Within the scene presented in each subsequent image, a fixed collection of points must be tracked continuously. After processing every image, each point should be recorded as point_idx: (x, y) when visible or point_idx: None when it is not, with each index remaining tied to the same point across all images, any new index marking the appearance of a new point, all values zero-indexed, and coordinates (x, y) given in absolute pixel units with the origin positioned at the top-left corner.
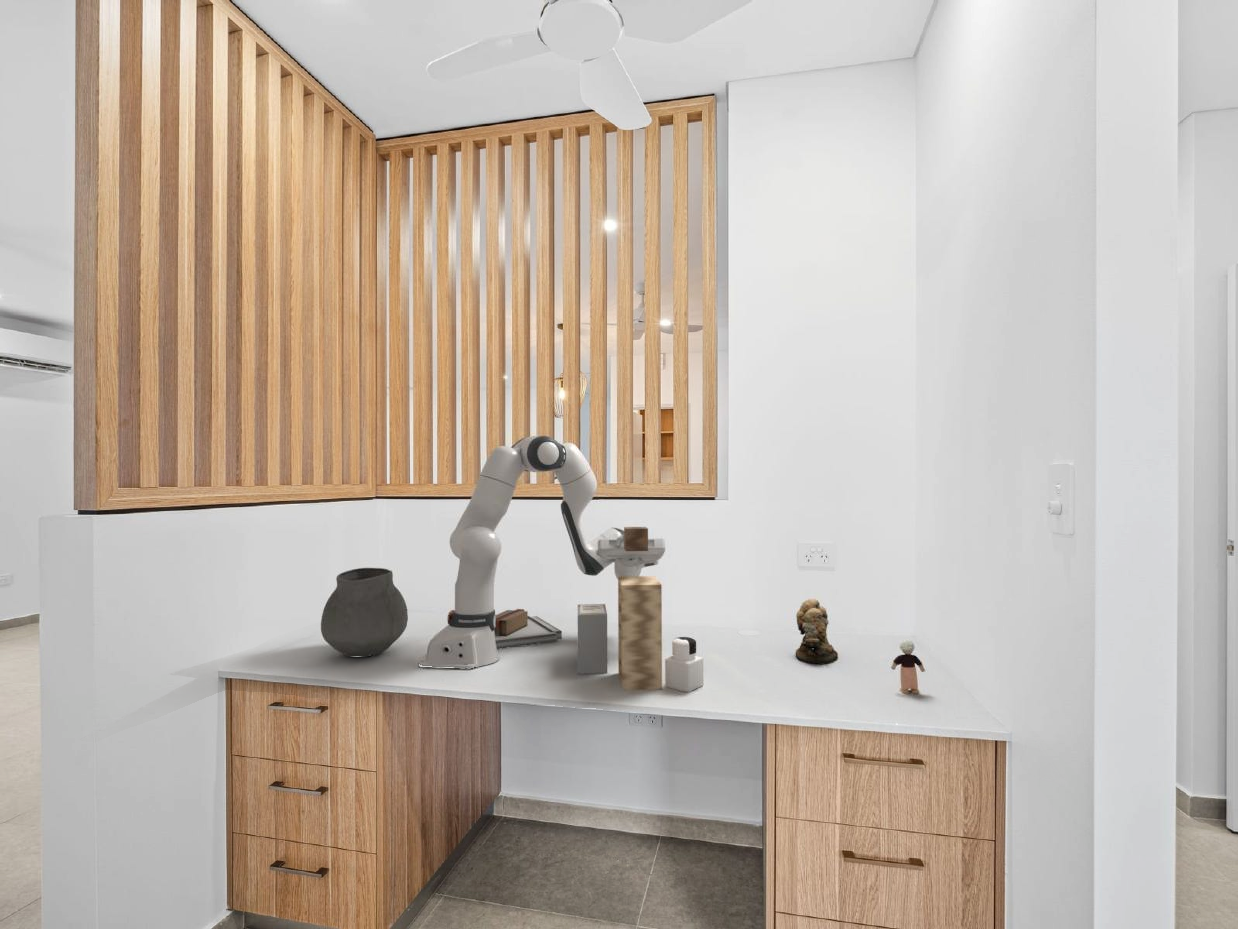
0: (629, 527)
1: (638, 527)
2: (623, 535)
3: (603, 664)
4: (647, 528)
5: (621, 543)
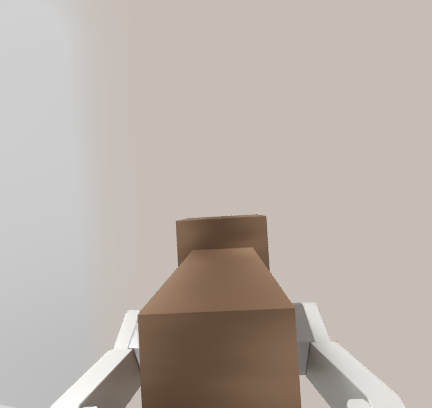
0: (244, 216)
1: (210, 218)
2: (292, 304)
3: None
4: (188, 218)
5: (323, 394)
